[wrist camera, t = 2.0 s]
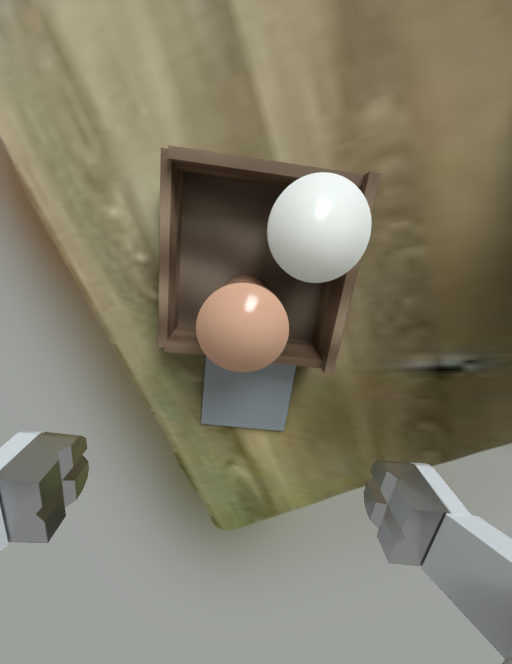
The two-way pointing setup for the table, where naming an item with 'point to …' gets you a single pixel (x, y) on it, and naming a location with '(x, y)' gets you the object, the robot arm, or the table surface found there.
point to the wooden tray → (240, 250)
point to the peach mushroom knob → (242, 325)
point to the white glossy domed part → (319, 227)
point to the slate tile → (247, 396)
